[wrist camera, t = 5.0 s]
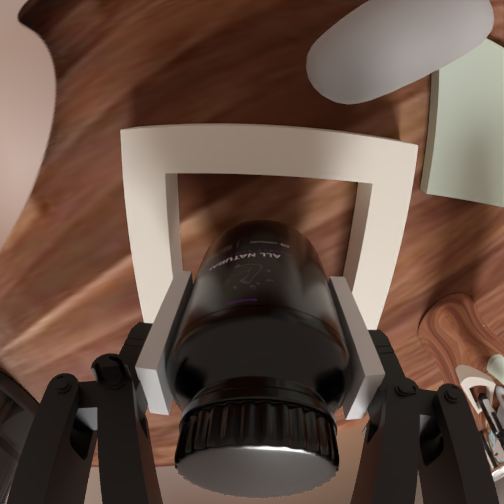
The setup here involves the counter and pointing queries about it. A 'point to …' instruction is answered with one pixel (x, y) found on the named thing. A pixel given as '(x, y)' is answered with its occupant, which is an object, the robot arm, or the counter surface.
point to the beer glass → (470, 366)
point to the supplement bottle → (259, 366)
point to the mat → (467, 128)
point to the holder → (266, 163)
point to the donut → (394, 45)
